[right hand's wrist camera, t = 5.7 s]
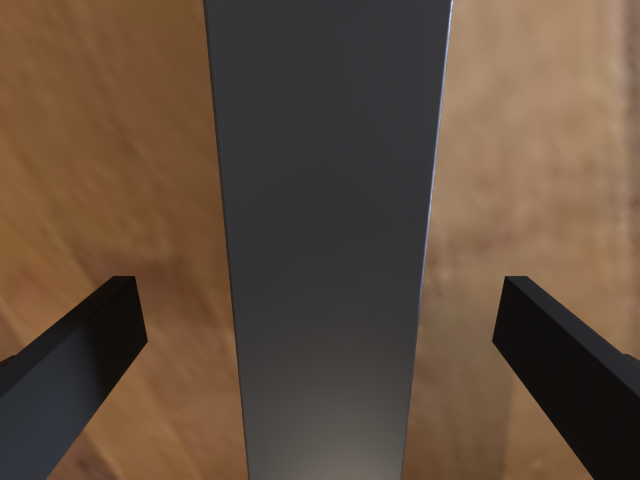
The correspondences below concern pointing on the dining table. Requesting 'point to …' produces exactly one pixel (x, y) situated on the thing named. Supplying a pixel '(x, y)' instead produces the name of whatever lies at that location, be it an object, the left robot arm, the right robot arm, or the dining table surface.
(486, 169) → the dining table surface
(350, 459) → the beam
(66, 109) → the dining table surface
